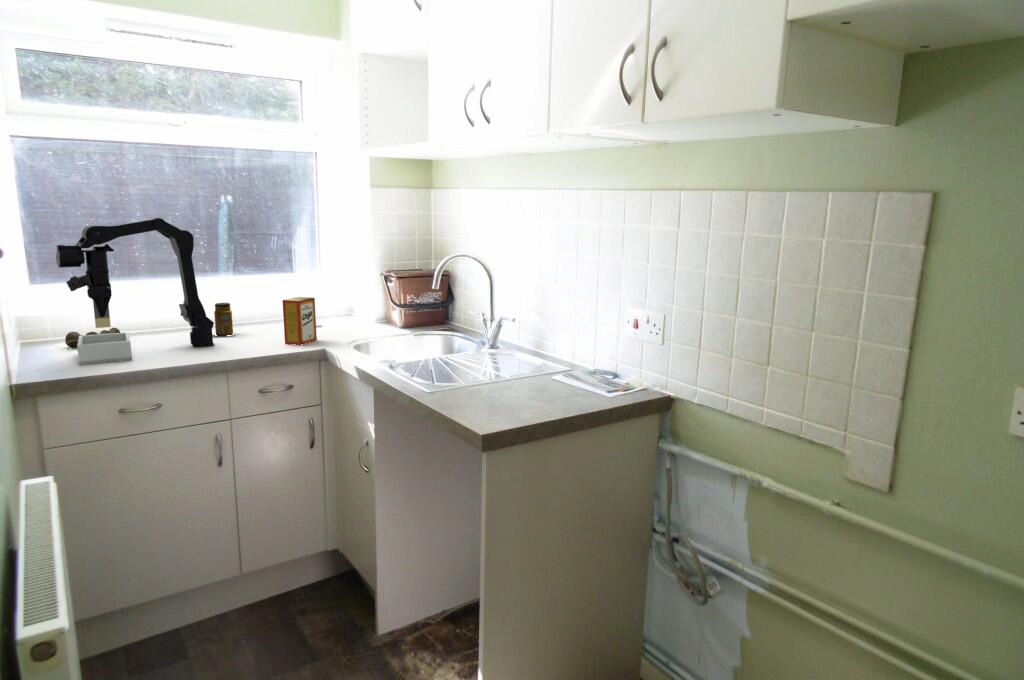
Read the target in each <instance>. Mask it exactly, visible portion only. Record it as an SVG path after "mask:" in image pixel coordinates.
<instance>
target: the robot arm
mask: <svg viewBox="0 0 1024 680" xmlns="http://www.w3.org/2000/svg"><path fill="white" fill-rule="evenodd" d="M81 231H82V232H81V236H80V237H81V238H80V239H79V240H78V241H77V243H76V244H75V245H74V244H73V245H67V244H66V245H64V244H57V245H56V255H55V261H56V265H57V267H58V268H59V269H60V268H61V269H62V268H81V267H82V265H84V264H85V265H86V270H85V274H83V275H80V276H76V275H74V276H72V277H70V278H69V280H66V281H65V282H66V285H67V287H68V288H69V291H71V292H74V291H76V290H78V289H82V288H84V287H86V286H87V290H86V291H87V297H88V298H90V299H91V300H92V301H93V300H94V301H95V303H96V306H97V309H98V312H99V315H100V317H104V316H105V313H106V310H107V307H108V304H110V301H111V298H112V296H113V295H112V294H113V293H112V286H111V285H112V284H111V281H110V273H109V272H110V271H109V264H108V263H109V262H108V252H109V253H111V252H114V251H115V250H114V248H112V247H111V246H110V245H109V244H108V242H111V241H114V240H116V239H118V238H122V237H126V236H131V235H138V234H142V233H143V234H145V233H149V232H153V231H155V232H158V233H159V234H161V235H162V236H163V237H165V238H167V239H168V240H169V241H170V245H171V247H172V250H173V252H174V254H175V255H176V259H177V262H178V269H179V275H180V279H181V287H182V292H183V297H184V298H183V303H179V304H178V306H179V309H180V316H181V317H182V318H183V320H184V321H185V322H187V323H188V324H189V326H190V329H191V331H189V340H190V344H191V345H192V346H193V347H194V348H195V347H196V348H197V347H211V346H214V345H215V343H214V337H213V328H214V326H215V321H213V320H211V319H210V318H209V317H208V316H207V313H206V310H205V308H204V305H203V304H202V301H201V300H200V298H199V292H198V286H197V282H196V274H195V270H194V269H195V267H194V262H193V252H194V243H195V241H194V239H195V238H194V235H193V233H192V232H190V231H189V230H186V229H181V228H178V227H177V226H175V225H173V224H171V223H169V222H167V221H165V220H164V219H163V218H161V217H152V218H149V219H143V220H138V221H132V222H125V223H121V224H120V223H119V224H113V225H112V224H111V225H110V224H109V225H105V224H103V225H101V224H100V225H97V224H96V225H88V226H85V227H84V228H83V229H82V230H81ZM102 244H104V245H102ZM97 245H99V246H97ZM90 248H91V249H90ZM85 262H86V263H85Z"/></svg>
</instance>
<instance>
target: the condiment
mask: <svg viewBox="0 0 1024 680" xmlns="http://www.w3.org/2000/svg"><path fill="white" fill-rule="evenodd" d="M214 306H215V308H214V309H215V310H214V311H213V313H214V327H215V328H214V329H215V333H216V335H217V336H227V335H232V334H233V333H234V328H233V313H232V310H231V304H230V303H229V302H218V303H215V304H214ZM212 336H213V338H218V337H217V336H215V335H214V334H212Z"/></svg>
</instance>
